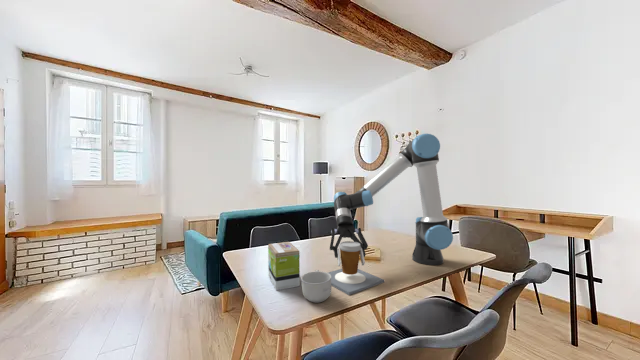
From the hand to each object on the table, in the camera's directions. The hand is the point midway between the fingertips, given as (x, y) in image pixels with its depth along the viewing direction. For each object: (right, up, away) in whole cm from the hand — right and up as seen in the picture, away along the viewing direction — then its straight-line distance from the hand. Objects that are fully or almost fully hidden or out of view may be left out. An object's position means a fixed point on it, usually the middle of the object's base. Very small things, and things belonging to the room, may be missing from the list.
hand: (351, 264), depth 100 cm
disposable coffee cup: (0, -5, +3) cm, 6 cm away
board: (0, -8, +3) cm, 8 cm away
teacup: (-14, -8, -12) cm, 20 cm away
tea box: (-28, -8, +1) cm, 30 cm away
